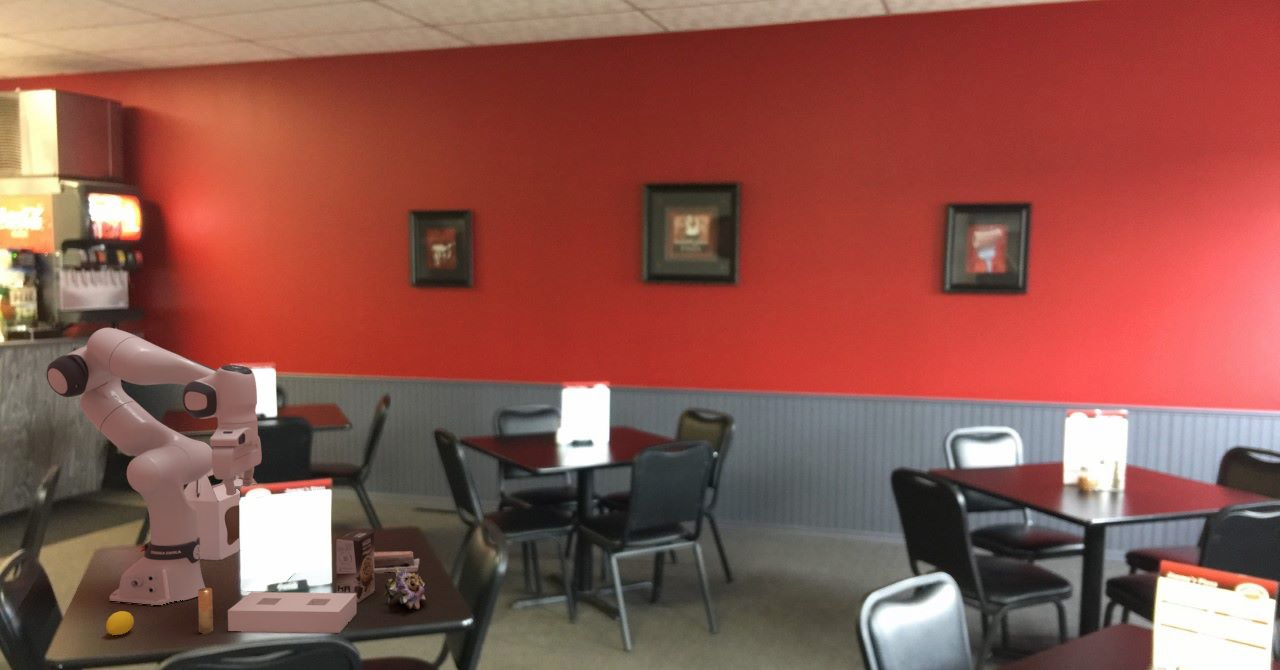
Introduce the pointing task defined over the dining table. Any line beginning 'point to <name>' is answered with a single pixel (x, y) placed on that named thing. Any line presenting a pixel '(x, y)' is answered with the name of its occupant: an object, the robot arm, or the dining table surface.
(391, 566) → the packaged product
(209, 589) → the brass pin
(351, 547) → the coffee box
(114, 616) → the lemon
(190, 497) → the gable box
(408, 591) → the passion flower
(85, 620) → the dining table surface
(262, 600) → the socket block
